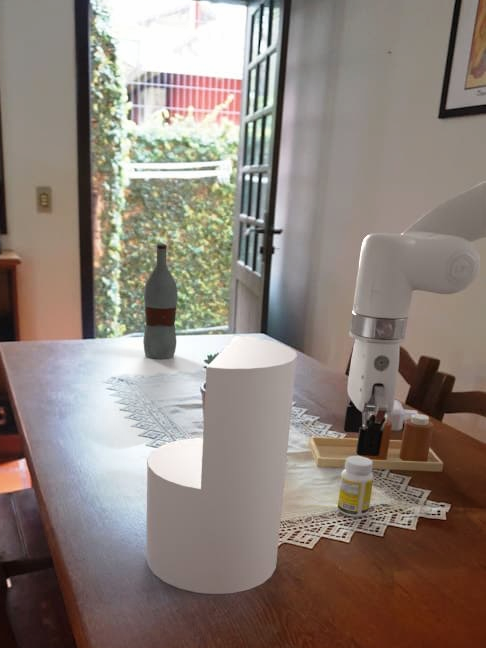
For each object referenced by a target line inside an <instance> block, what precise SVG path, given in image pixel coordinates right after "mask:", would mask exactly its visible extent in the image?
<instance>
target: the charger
mask: <svg viewBox="0 0 486 648" xmlns="http://www.w3.org/2000/svg"><path fill="white" fill-rule="evenodd" d="M367 407H375V406H367ZM413 414H419V412H418V410H415V409H404V407H403V405H402V402H401V401H399V400H397V399H395V401H394V408H393V411H392V412H391V413H386V415H387V419H388V420H390V421H391V422H392V428H391V431H394V432H400V431H401V430H403V428H404V426H403V425H404V424H405V421H406V420H407V419H411V418H412V415H413ZM425 415H426V414H425ZM426 416H428V415H426ZM368 417H370V414H368Z"/></svg>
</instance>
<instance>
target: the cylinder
mask: <svg viewBox="0 0 486 648" xmlns="http://www.w3.org/2000/svg"><path fill="white" fill-rule="evenodd" d="M297 357H298V356H297V351H295V350H294V349H293V348H291V347H290V346H287V345H285V344H282V343H279V342H276V341H273V340H269V339H265V338H259V337H252V336H245V335H236V334H235V336H234V337H233V338H232V339H231V340H230V341H229V343H228V344H227V345H226V346H225V347H224V348H222V350H221V351H220V352H219V353H218V354H217V355H216V356H215V358H214V359H212V360H211V362H210V363H209V364H208V365H207V366H206V370H205V389H204V390H205V391H204V408H203V409H204V410H203V411H204V412H203V413H204V414H203V433H202V437H193V438H182V439H178V440H174V441H171V442H167V443H164V444H162V445H160V446H157V447H156V448H155V449H154V450H152V451H151V452H150V453H149V455H148V457H147V460H146V523H145V525H146V526H145V527H146V530H145V531H146V533H145V534H146V535H145V536H146V537H145V558H146V564H147V567H148V568H149V569H150V571H151V572H152V574H153V575H154V576H156V577H157V578H158V579H159V580H161V581H163V582H164V583H165V584H168V585H171V586H173V587H175V588H177V589H181V590H184V591H188V592H192V593H196V594H208V595H224V594H225V595H226V594H235V593H240V592H244V591H248V590H251V589H253V588H256V587H258V586H261V585H263V584H264V583H265V582H266V581H268V580H269V579H270V578H271V577H272V576H273V574H274V572H275V570H276V569H277V562H278V551H279V541H280V540H279V539H280V531H281V530H280V529H281V520H282V509H283V502H284V501H283V500H284V499H283V498H284V490H285V479H286V471H287V461H288V460H287V459H288V451H289V450H288V448H289V441H290V439H289V438H290V429H291V419H292V408H293V398H294V390H295V389H294V388H295V380H296V379H295V377H296V370H297V369H296V367H297V359H298V358H297Z"/></svg>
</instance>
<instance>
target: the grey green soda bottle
mask: <svg viewBox="0 0 486 648" xmlns="http://www.w3.org/2000/svg"><path fill="white" fill-rule="evenodd" d="M167 247H168V245H167V244H165V243H158V244H156V265H155V267H154V268H153V270H152V272H151V274H150V275H149V276H148V278H147V279H146V281H145V285H144V292H143V302H144V303H143V304H144V317H145V327H144V333H143V349H144V350H143V351H144V355H145V358H146V357H147V358H149V359H154V360H169V359H173V358H174V357H175V354H176V348H177V332H176V325H175V324H176V317H177V316H176V314H177V305H178V295H179V294H178V286H177V282H176V280H175V278H174V277H173V275H172V273H171V271H170V269H169V268H168V266H167Z"/></svg>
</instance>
